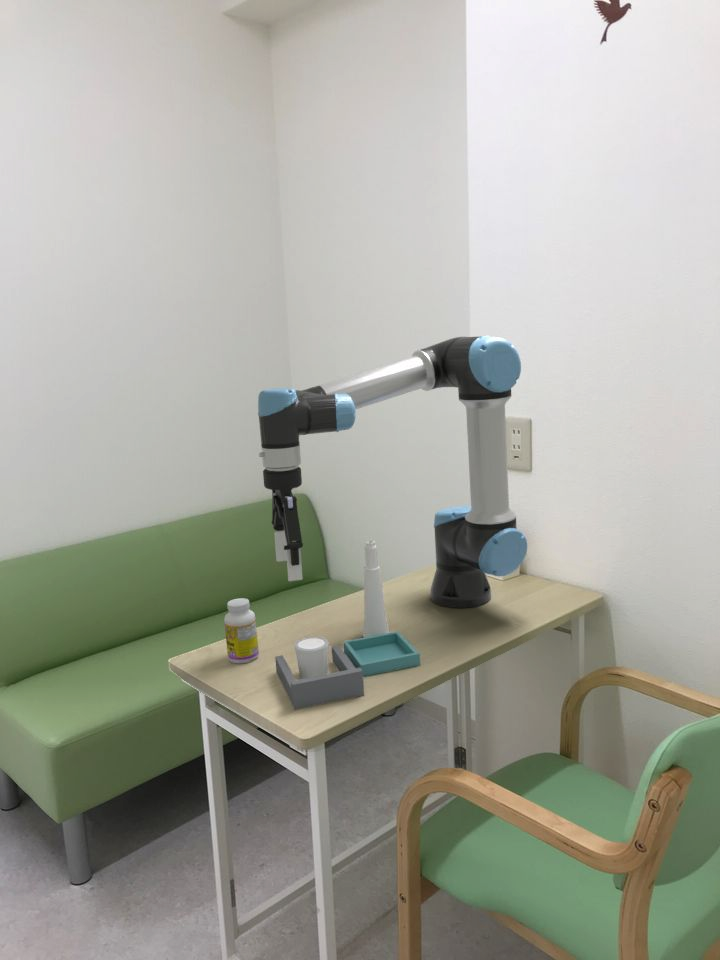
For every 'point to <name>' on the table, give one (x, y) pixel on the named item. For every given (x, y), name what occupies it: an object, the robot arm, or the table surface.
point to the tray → (381, 653)
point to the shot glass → (312, 656)
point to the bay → (322, 682)
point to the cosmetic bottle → (373, 594)
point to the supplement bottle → (241, 632)
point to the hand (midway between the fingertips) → (288, 570)
